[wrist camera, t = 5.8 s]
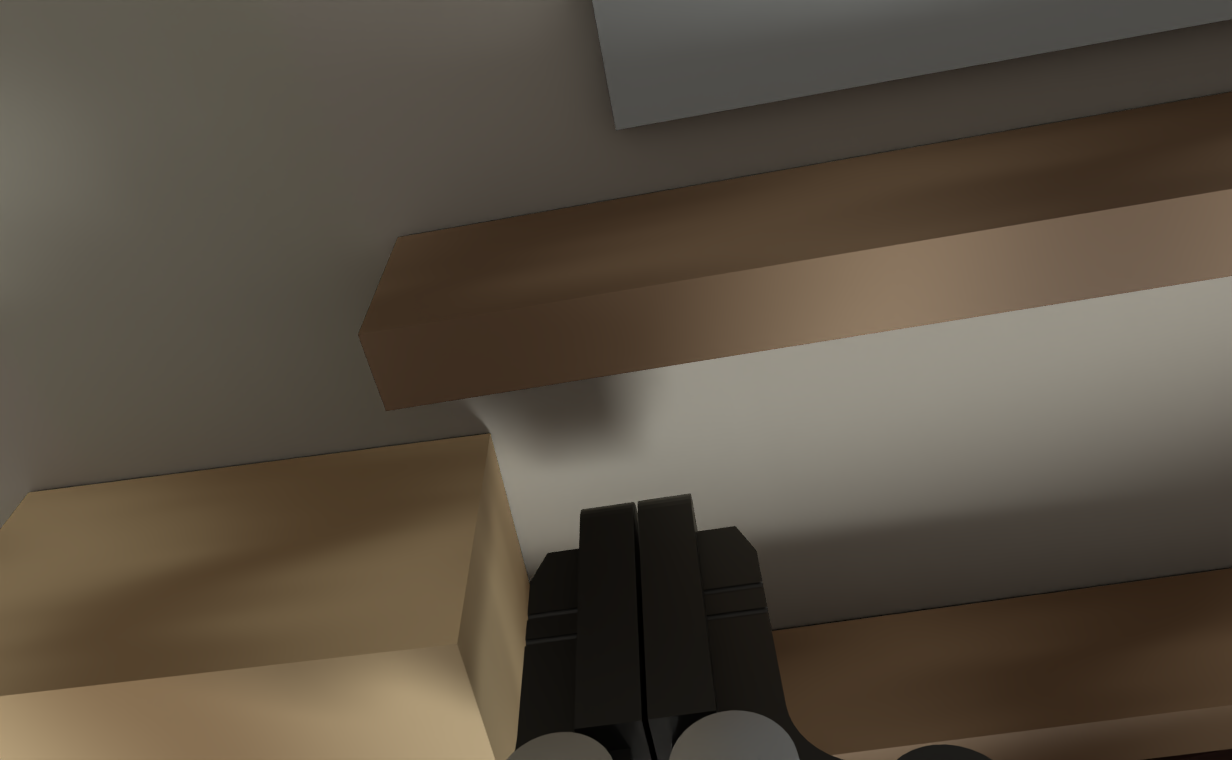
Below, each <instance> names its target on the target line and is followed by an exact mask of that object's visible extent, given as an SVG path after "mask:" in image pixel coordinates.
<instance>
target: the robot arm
mask: <svg viewBox="0 0 1232 760" xmlns="http://www.w3.org/2000/svg"><path fill="white" fill-rule="evenodd" d="M527 615H528V620H527V625H526V636H525V641H526V646H525V648H524V660H523V672H522V683H521V695H520V707H519V718H518V730H517V741H516V747H515V751H514V752H513V753H512V754H511V755H510V756H509V757H508V758H507V760H843V759H840V758H837V757H835V756H832V755H829V754H827V753H825V752H824V751H822V750H820V749H818V748H817V747H815V746H814V745H813V744H811V743H810V742H809V741H808V740H807V739H806V738H805V737H804V736H803V735H802V734H801V733H800V732H799V731H798V730H797V728H796V727H795V725H794V724H793V722H792V720H791V718H790V716H789V713H788V710H787V706H786V702H785V697H784V691H783V686H782V681H781V676H780V671H779V666H778V660H777V655H776V650H775V645H774V640H773V635H772V629H771V624H770V619H769V614H768V609H767V603H766V598H765V593H764V588H763V583H762V578H761V572H760V567H759V562H758V557H757V552H756V550H755V549H754V548H753V546H752V545H751V544H750V543H749V542H748V540H747V539H746V538H745V537H744V536H743V535H742V533H741V532H740V531H739V530H738V529H737V528H736V526H733V527H726V528H719V529H712V530H705V531H697V525H696V519H695V513H694V508H693V502H692V497H691V494H684V495H677V496H670V497H663V498H657V499H650V500H643V501H638V512H637V508H636V505H635V503H634V502H631V503H624V504H617V505H610V506H603V507H596V508H589V509H582V510H581V514H580V539H579V549H573V550H566V551H559V552H552V553H547V555H546V557H545V558H544V560H543V562H542V563H541V565H540V567H539V569H538V570H537V572H536V574H535V575H534V577H533V579H532V580H531V582H530V589H529V601H528V613H527ZM897 760H992V759H990V758H989V757H987V756H985V755H983V754H981V753H979V752H977V751H974V750H972V749H968V748H965V747H961V746H955V745H947V744H940V745H929V746H923V747H920V748H917V749H914V750H911V751H909V752H907V753H906V754H904V755H902V756H901V757H899V758H898V759H897Z"/></svg>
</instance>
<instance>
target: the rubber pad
mask: <svg viewBox="0 0 1232 760" xmlns="http://www.w3.org/2000/svg"><path fill="white" fill-rule="evenodd" d="M592 3H593V8H594V14H595V19H596V25H597V30H598V36H599V41H600V46H601V52H602V57H603V63H604V68H605V74H606V79H607V85H608V90H609V95H610V101H611V106H612V112H613V117H614V123H615V128H616V130H620V129H626V128H631V127H637V126H642V125H648V124H654V123H659V122H665V121H670V120H676V119H681V118H687V117H692V116H698V115H703V114H709V113H715V112H720V111H726V110H731V109H737V108H742V107H748V106H753V105H759V104H764V103H770V102H776V101H781V100H787V99H792V98H798V97H803V96H809V95H814V94H820V93H825V92H831V91H837V90H842V89H848V88H853V87H859V86H864V85H870V84H875V83H881V82H886V81H892V80H898V79H903V78H909V77H914V76H920V75H925V74H931V73H936V72H942V71H947V70H953V69H959V68H964V67H970V66H975V65H981V64H986V63H992V62H997V61H1003V60H1008V59H1014V58H1020V57H1025V56H1031V55H1036V54H1042V53H1047V52H1053V51H1058V50H1064V49H1069V48H1075V47H1081V46H1086V45H1092V44H1097V43H1103V42H1108V41H1114V40H1119V39H1125V38H1130V37H1136V36H1142V35H1147V34H1153V33H1158V32H1164V31H1169V30H1175V29H1180V28H1186V27H1191V26H1197V25H1203V24H1208V23H1214V22H1219V21H1225V20H1230V19H1232V0H592Z"/></svg>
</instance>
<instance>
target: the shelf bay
mask: <svg viewBox="0 0 1232 760" xmlns="http://www.w3.org/2000/svg"><path fill="white" fill-rule="evenodd" d="M1228 276H1232V92H1227V93H1222V94H1216V95H1210V96H1204V97H1199V98H1193V99H1187V100H1182V101H1176V102H1170V103H1164V104H1159V105H1153V106H1147V107H1141V108H1136V109H1130V110H1124V111H1119V112H1113V113H1107V114H1101V115H1096V116H1090V117H1084V118H1078V119H1073V120H1067V121H1061V122H1056V123H1050V124H1044V125H1038V126H1033V127H1027V128H1021V129H1015V130H1010V131H1004V132H998V133H993V134H987V135H981V136H975V137H970V138H964V139H958V140H952V141H947V142H941V143H935V144H930V145H924V146H918V147H912V148H907V149H901V150H895V151H889V152H884V153H878V154H872V155H866V156H861V157H855V158H849V159H844V160H838V161H832V162H826V163H821V164H815V165H809V166H803V167H798V168H792V169H786V170H781V171H775V172H769V173H763V174H758V175H752V176H746V177H740V178H735V179H729V180H723V181H718V182H712V183H706V184H700V185H695V186H689V187H683V188H677V189H672V190H666V191H660V192H655V193H649V194H643V195H637V196H632V197H626V198H620V199H614V200H609V201H603V202H597V203H592V204H586V205H580V206H574V207H569V208H563V209H557V210H551V211H546V212H540V213H534V214H529V215H523V216H517V217H511V218H506V219H500V220H494V221H488V222H483V223H477V224H471V225H466V226H460V227H454V228H448V229H443V230H437V231H431V232H425V233H420V234H414V235H408V236H403V237H398V238H397V241H396V243H395V245H394V248H393V250H392V253H391V255H390V258H389V260H388V263H387V265H386V267H385V270H384V272H383V275H382V277H381V280H380V282H379V284H378V287H377V289H376V292H375V294H374V297H373V299H372V302H371V304H370V306H369V309H368V311H367V314H366V316H365V319H364V321H363V324H362V326H361V328H360V331H359V333H358V336H359V339H360V342H361V344H362V347H363V350H364V353H365V355H366V358H367V361H368V363H369V366H370V369H371V372H372V374H373V377H374V380H375V383H376V385H377V388H378V391H379V393H380V396H381V399H382V402H383V404H384V407H385V410H386V411H390V410H396V409H402V408H409V407H415V406H421V405H427V404H434V403H440V402H446V401H453V400H459V399H465V398H471V397H478V396H484V395H490V394H496V393H503V392H509V391H515V390H521V389H528V388H534V387H540V386H546V385H553V384H559V383H565V382H571V381H578V380H584V379H590V378H596V377H603V376H609V375H615V374H621V373H628V372H634V371H640V370H646V369H653V368H659V367H665V366H671V365H678V364H684V363H690V362H696V361H703V360H709V359H715V358H721V357H728V356H734V355H740V354H746V353H753V352H759V351H765V350H771V349H778V348H784V347H790V346H796V345H803V344H809V343H815V342H821V341H828V340H834V339H840V338H846V337H853V336H859V335H865V334H871V333H878V332H884V331H890V330H896V329H903V328H909V327H915V326H921V325H928V324H934V323H940V322H946V321H953V320H959V319H965V318H971V317H978V316H984V315H990V314H996V313H1003V312H1009V311H1015V310H1021V309H1028V308H1034V307H1040V306H1046V305H1053V304H1059V303H1065V302H1071V301H1078V300H1084V299H1090V298H1096V297H1103V296H1109V295H1115V294H1122V293H1128V292H1134V291H1140V290H1147V289H1153V288H1159V287H1165V286H1172V285H1178V284H1184V283H1190V282H1197V281H1203V280H1209V279H1215V278H1222V277H1228ZM772 635H773V640H774V645H775V650H776V655H777V660H778V666H779V671H780V676H781V681H782V686H783V691H784V697H785V702H786V706H787V710H788V713H789V716H790V718H791V720H792V722H793V724H794V725H795V727H796V728H797V730H798V731H799V732H800V733H801V734H802V735H803V736H804V737H805V738H806V739H807V740H808V741H809V742H810V743H811V744H813V745H814V746H815V747H817V748H818V749H820V750H822V751H824V752H825V753H827V754H829V755H832V756H835V757H837V758H840V759H843V760H897V759H898V758H899V757H901V756H902V755H904V754H906V753H907V752H909V751H911V750H914V749H917V748H920V747H923V746H929V745H940V744H947V745H955V746H961V747H965V748H968V749H972V750H974V751H977V752H979V753H981V754H983V755H985V756H987V757H989V758H990V759H992V760H1144V759H1152V758H1160V757H1168V756H1176V755H1184V754H1193V753H1201V752H1209V751H1217V750H1225V749H1232V568H1230V569H1222V570H1215V571H1208V572H1201V573H1193V574H1186V575H1179V576H1171V577H1164V578H1157V579H1149V580H1142V581H1135V582H1127V583H1120V584H1113V585H1105V586H1098V587H1091V588H1083V589H1076V590H1069V591H1062V592H1054V593H1047V594H1040V595H1032V596H1025V597H1018V598H1010V599H1003V600H996V601H988V602H981V603H974V604H966V605H959V606H952V607H944V608H937V609H930V610H923V611H915V612H908V613H901V614H893V615H886V616H879V617H871V618H864V619H857V620H849V621H842V622H835V623H827V624H820V625H813V626H805V627H798V628H791V629H784V630H776V631H772Z"/></svg>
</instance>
